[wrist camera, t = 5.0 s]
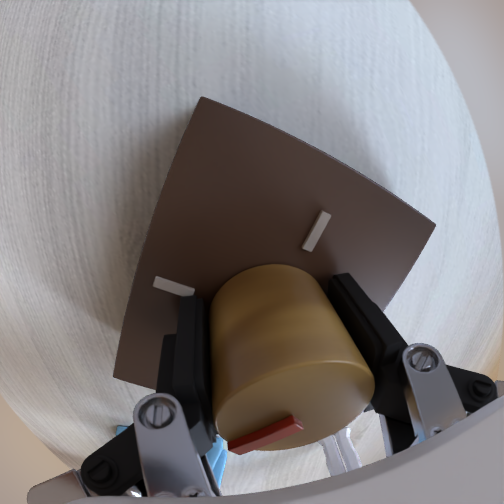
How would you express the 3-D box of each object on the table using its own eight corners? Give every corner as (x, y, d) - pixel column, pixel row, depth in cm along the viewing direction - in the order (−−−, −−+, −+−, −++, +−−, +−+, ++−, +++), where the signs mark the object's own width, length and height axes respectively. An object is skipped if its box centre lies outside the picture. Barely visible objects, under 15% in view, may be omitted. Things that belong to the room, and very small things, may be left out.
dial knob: (287, 238, 9) (347, 338, 5) (341, 317, 11) (394, 409, 7) (183, 309, 10) (175, 426, 6) (253, 370, 12) (273, 468, 8)
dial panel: (203, 102, 10) (200, 95, 7) (399, 203, 13) (439, 226, 10) (124, 336, 14) (111, 380, 11) (287, 376, 17) (299, 416, 14)
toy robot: (320, 456, 24) (349, 547, 14) (308, 430, 21) (346, 550, 10) (355, 442, 24) (390, 532, 13) (352, 414, 21) (400, 529, 10)
